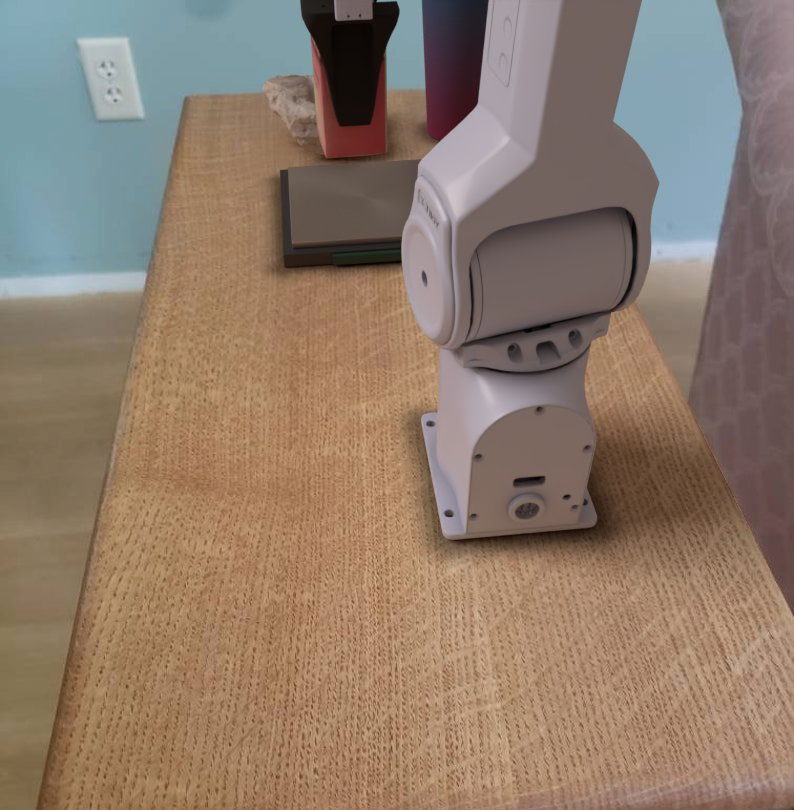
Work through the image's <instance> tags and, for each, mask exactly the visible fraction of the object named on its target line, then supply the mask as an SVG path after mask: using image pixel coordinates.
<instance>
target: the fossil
mask: <svg viewBox="0 0 794 810" xmlns="http://www.w3.org/2000/svg"><path fill="white" fill-rule="evenodd" d="M262 93H263V94H264V95H265V96H266V98H267V99H268V108H269V109H270V111H271V112H272V113H273V114H275V115H276V116H278V117H280V118H281V120H282V122H283V124H284V125H285V126H286V128H287V130H288V131H289V133H290V135H291V137H293V138H294V139H295V140H296V143H298V145H299V146H301V147H302V148H303V149H305V150H306V151H308V152H309V153H313V154H314V155H317V156H325V154H324V151H323V148H322V145H321V142H320V139H319V134H318V130H317V122H316V109H315V94H314V79H313V74H312V75H310V74H308V75H305V74H304V75H298V74H289V75H275V76H273V77H271V78H268V79H267V80H266V81H265V82H264V83H263V85H262Z"/></svg>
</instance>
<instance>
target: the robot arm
mask: <svg viewBox="0 0 794 810" xmlns="http://www.w3.org/2000/svg"><path fill="white" fill-rule="evenodd" d="M642 2H643V0H489V3H488V12H487V22H486V32H485V41H484V51H483V60H482V70H481V79H480V89H479V98H478V104H477V106H476V107H475V108H474V110H473V111H472V112H471V113H470V114H469V115H468V116H467V117H466V118H465V119H464V120H463V121H462V122H461V123H459V124H458V125H457V126H456V127H455V128H454V129H453V130H452V131H451V132H450V133H449V134H447V135H446V136H445V137H444V138H443V139H442V140H441V141H439V142H438V143H436V144H435V146H433V147H432V149H430V150H429V152H428V153H427V154H425V155H424V157H422V158H421V159H422V160H421V161H420V163H419V164H418V178H417V180H416V182H415V190H414V198H413V203H412V208H411V212H410V215H409V218H408V220H407V222H406V224H405V226H404V230H403V235H402V246H401V253H402V261H401V267H402V274H403V275H402V276H403V280H404V281H403V282H404V286H405V291H406V295H407V299H408V302H409V303H408V304H409V305H410V306H409V307H410V308H411V311H412V315H413V317H414V319H415V321H416V323H417V326H418V327H419V329H420V330H421V332H422V333H423V335H425V337H426V338H427V339H429V340H430V341H432V342H433V344H435V345H436V346H437V347H438V348H439V351H438V352H439V353H438V386H437V411H435V412H433V411H432V412H426V413H424V414H422V416H421V418H420V424H421V430H422V435H423V441H424V446H425V451H426V456H427V460H428V468H429V471H430V477H431V481H432V482H431V483H432V486H433V492H434V496H435V497H434V498H435V503H436V507H437V512H438V517H439V523H440V528H441V533H442V535H443V537H444V538H445V539H447V540H452V541H453V540H465V539H477V538H489V537H499V536H500V537H501V536H510V535H511V536H512V535H521V534H533V533H545V532H556V531H557V532H558V531H568V530H579V529H589V528H590V529H591V528H592V527H595V526H596V524H597V521H598V515H597V512H596V509H595V506H594V503H593V500H592V498H591V495H590V492H589V490H588V489H589V488H588V484H589V479H590V475H591V469H592V465H593V461H594V455H595V452H596V448H597V430H596V426H595V423H594V420H593V417H592V415H591V412H590V408H589V405H588V401H587V395H586V385H585V382H586V374H587V373H586V372H587V367H588V362H589V358H590V352H591V346H592V342H593V341H595V340H597V339H599V338H601V337H605V336H607V335H608V331H609V326H610V321H611V317H612V313H616V312H620V311H623V310H625V309H628V308H629V307H630V306H631V305H632V304H634V303H635V301H636V300H637V298H638V297H639V296H640V294H641V291H642V289H643V288H644V284H645V281H646V279H647V275H648V273H649V268H650V265H651V258H652V232H651V229H652V228H651V227H652V214H653V207H654V203H655V200H656V197H657V193H658V190H659V187H660V180H659V178H658V176H657V173H656V171H655V169H654V166H653V165H652V162H651V160H650V158H649V157H648V155H647V154H646V152H645V151H644V150H643V148H642V147H641V146H640V144H639V143H638V142H637V141H636V139H634V138H633V136H632V135H630V134H629V132H628V131H626V130H625V129H623V127H621V126H620V125H619V124H618V123H616V122H615V121H614V120H615V116H616V110H617V106H618V102H619V99H620V94H621V90H622V87H623V86H622V85H623V83H624V78H625V74H626V69H627V65H628V61H629V56H630V52H631V49H632V44H633V39H634V35H635V33H636V27H637V24H638V19H639V14H640V11H641V6H642ZM299 3H300V5H299V6H300V13H301V18H302V21H303V23H304V26H305V27H306V29H307V31H308V33H309V34H311V35H310V37H311V36H312V38H313V40H314V42H315V44H316V46H317V49H318V51H319V54H320V57H321V59H322V62H323V65H324V69H325V73H326V77H327V82H328V86H329V91H330V96H331V100H332V105H333V109H334V113H335V116H336V119H337V122H338V124H339V126H341V127H344V126H361V125H370V124H371V121H372V117H373V112H374V107H375V101H376V95H377V87H378V81H379V75H380V69H381V64H382V60H383V56H384V53H385V50H386V51H387V47H388V45H389V42H390V39H391V37H392V35H393V33H394V30H395V29H396V27H397V24H398V21H399V17H400V13H401V12H400V11H401V10H400V6H399V3H398V1H397V0H389V1H378V0H374V2H372V0H299Z"/></svg>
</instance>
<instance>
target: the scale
mask: <svg viewBox="0 0 794 810" xmlns="http://www.w3.org/2000/svg"><path fill="white" fill-rule="evenodd" d="M422 159H423V158H418V159H416V158H415V159H402V160H401V159H400V160H384V161H383V160H381V161H367V162H366V161H365V162H350V163H348V162H347V163H334V164H333V163H332V164H319V165H318V164H317V165H301V166H299V165H298V166H288V167H287V169H280V170H279V189H280V217H281V218H280V219H281V240H282V241H281V243H282V259H283V267H284V268H293V267H306V266H321V265H333V266H341V265H357V264H372V263H384V262H385V263H387V262H400V261H401V262H402V253H401V246H402V235H403V230H404V226H405V224H406V222H407V220H408V218H409V215H410V212H411V208H412V203H413V198H414V190H415V182H416V180H417V178H418V164H419V163H420V161H421V160H422Z"/></svg>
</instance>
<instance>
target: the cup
mask: <svg viewBox="0 0 794 810" xmlns="http://www.w3.org/2000/svg"><path fill="white" fill-rule="evenodd" d="M488 3H489V0H421V15H422V16H421V17H422V39H423V40H422V41H423V61H424V62H423V63H424V85H425V111H426V131H427V134H428V135H429V136H430V137H431V138H432V139H435V140H437V141H439V142H440V141H441V140H442V139H443V138H444V137H445V136H446V135H447V134H449V133H450V132H451V131H452V130H453V129H454V128H455V127H456V126H457V125H458V124H459V123H461V122H462V121H463V120H464V119H465V118H466V117H467V116H468V115H469V114H470V113H471V112H472V111H473V110H474V108H475V107H476V106H477V104H478V98H479V89H480V79H481V70H482V60H483V51H484V41H485V32H486V22H487V12H488Z"/></svg>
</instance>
